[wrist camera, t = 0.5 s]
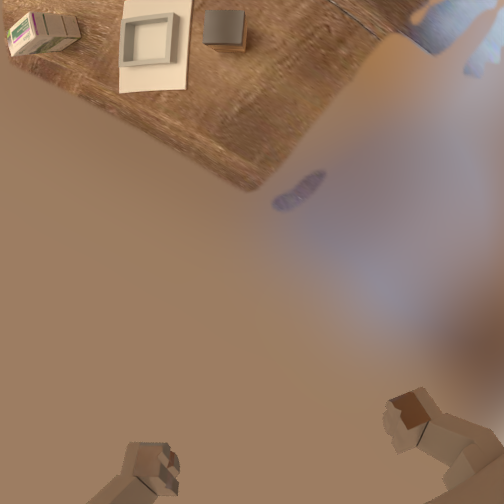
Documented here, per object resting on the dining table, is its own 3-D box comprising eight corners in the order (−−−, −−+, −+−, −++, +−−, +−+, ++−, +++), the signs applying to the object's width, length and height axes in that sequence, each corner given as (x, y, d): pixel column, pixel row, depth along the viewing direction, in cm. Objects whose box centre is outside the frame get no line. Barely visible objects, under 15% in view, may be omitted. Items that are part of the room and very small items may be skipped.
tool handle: (217, 51, 39) (202, 43, 27) (219, 27, 36) (205, 10, 25) (245, 52, 39) (241, 43, 27) (247, 28, 36) (244, 10, 25)
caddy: (121, 92, 42) (109, 95, 38) (126, 1, 32) (114, -4, 28) (186, 89, 42) (179, 90, 38) (193, -7, 32) (187, -14, 28)
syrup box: (76, 15, 31) (28, 9, 19) (82, 38, 35) (34, 37, 23) (54, 30, 32) (4, 30, 20) (60, 53, 36) (10, 58, 24)
